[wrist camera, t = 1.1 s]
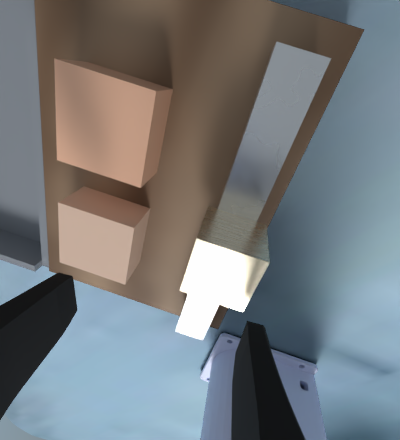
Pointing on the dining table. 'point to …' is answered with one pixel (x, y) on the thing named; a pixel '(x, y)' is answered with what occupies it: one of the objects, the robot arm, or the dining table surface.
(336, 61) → the board
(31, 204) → the box
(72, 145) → the tile
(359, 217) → the dining table surface
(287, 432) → the robot arm
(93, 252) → the tile
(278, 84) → the grey bar with block
